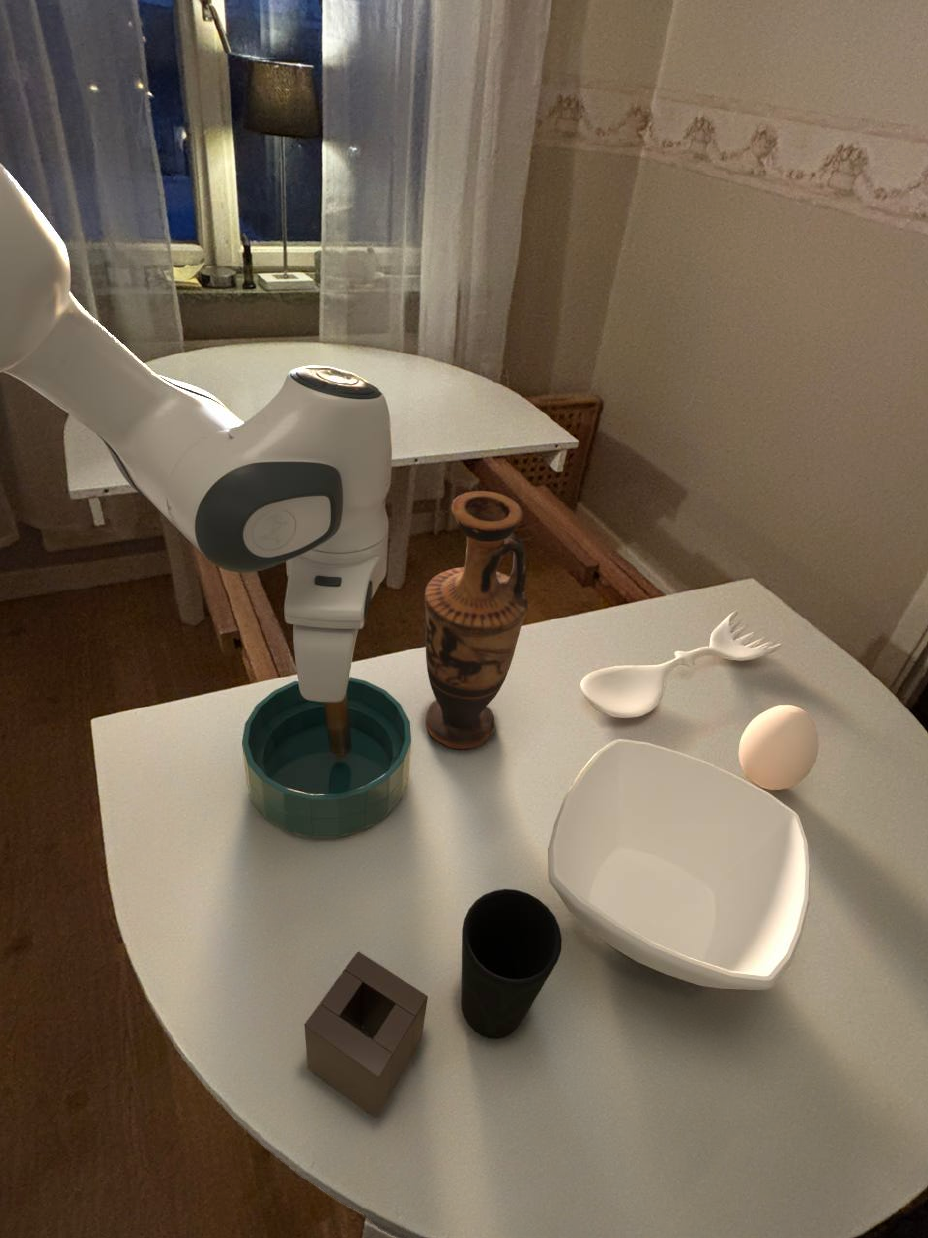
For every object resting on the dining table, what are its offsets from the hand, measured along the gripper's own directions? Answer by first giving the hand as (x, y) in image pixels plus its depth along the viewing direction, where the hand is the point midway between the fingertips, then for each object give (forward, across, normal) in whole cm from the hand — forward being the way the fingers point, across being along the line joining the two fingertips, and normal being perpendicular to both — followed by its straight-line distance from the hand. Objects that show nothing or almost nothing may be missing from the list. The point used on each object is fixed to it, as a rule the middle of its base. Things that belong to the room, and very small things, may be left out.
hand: (337, 668), depth 74 cm
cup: (+15, +26, +17) cm, 34 cm away
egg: (+14, -2, +50) cm, 52 cm away
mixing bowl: (+14, +2, -1) cm, 15 cm away
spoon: (+14, -19, +43) cm, 49 cm away
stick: (+13, 0, 0) cm, 13 cm away
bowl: (+15, +16, +32) cm, 39 cm away
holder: (+15, +30, +6) cm, 34 cm away
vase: (+15, -7, +14) cm, 21 cm away
